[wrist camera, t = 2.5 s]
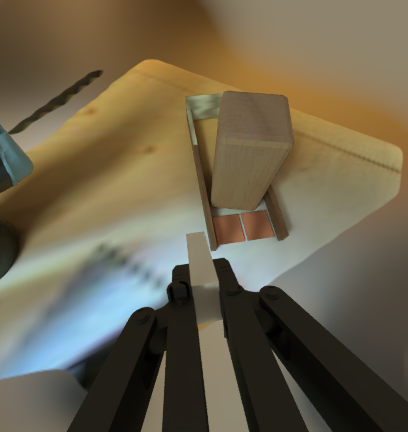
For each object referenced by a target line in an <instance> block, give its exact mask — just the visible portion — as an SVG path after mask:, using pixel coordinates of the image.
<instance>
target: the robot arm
mask: <svg viewBox="0 0 408 432" xmlns="http://www.w3.org/2000/svg"><path fill="white" fill-rule="evenodd" d="M32 170H33V163H32V161H31V160H30V159H29V157H28V156H27V155H26V154H25V153H24V152H23V150H22V149H21V148H20V147H19V146H18V144H17V143H16V142H15V141H14V140H13V139H12V137H11V136H10V135H9V134H8V133H7V132H6V131H5V129H4V128H3V127H2V126H1V125H0V193H1V192H3V191H5V190H7V189H9V188H10V187H12V186H15V185H16V184H17V182H19V181H20V180H22V179H23V178H25V177H26V176H28V175H29V174H31V172H32ZM186 236H187V247H188V258H189V264H184V265H177V266H175V267H174V269H173V270H172V283H170V284H169V286H168V287H167V295H168V299H169V302H168V303H167V304H166V305H165V306H164V307H162V308H160V309H158V310H154V309H152V308H150V307H143V308H140V309H138V310H136V311H135V312H134V313H133V314H132V315H131V316H130V318H129V320H128V322H127V323H126V325H125V327H124V329H123V331H122V332H121V334H120V336H119V338H118V340H117V341H116V343H115V345H114V347H113V349H112V351H111V352H110V354H109V356H108V358H107V360H106V361H105V363H104V365H103V367H102V369H101V370H100V372H99V374H98V376H97V378H96V380H95V381H94V383H93V385H92V387H91V389H90V390H89V392H88V394H87V396H86V398H85V400H84V401H83V403H82V405H81V407H80V409H79V410H78V412H77V414H76V416H75V418H74V419H73V421H72V423H71V425H70V427H69V429H68V431H67V432H141V429H142V425H143V422H144V419H145V415H146V412H147V409H148V405H149V401H150V399H151V395H152V392H153V389H154V385H155V382H156V379H157V375H158V372H159V368H160V365H161V362H162V358H163V355H164V351H166V367H165V386H164V405H163V423H162V432H209V424H208V415H207V406H206V397H205V388H204V379H203V370H202V361H201V352H200V343H199V334H198V327H197V324H201V323H206V322H212V321H217V320H222V318H223V325H224V337H225V338H226V339H227V343H228V347H229V351H230V355H231V359H232V363H233V367H234V371H235V376H236V380H237V384H238V388H239V391H240V396H241V400H242V404H243V408H244V412H245V416H246V420H247V424H248V428H249V432H309V431H308V429H307V427H306V425H305V423H304V420H303V418H302V416H301V414H300V411H299V409H298V407H297V405H296V403H295V401H294V398H293V396H292V394H291V392H290V389H289V387H288V385H287V383H286V381H285V378H284V376H283V374H282V372H281V370H280V368H279V365H278V363H277V361H276V359H275V357H274V354H273V352H272V350H273V351H274V353H275V354H276V355H277V357H278V358H279V359H280V361H281V362H282V364H283V365H284V366H285V368H286V369H287V370H288V372H289V373H290V374H291V376H292V377H293V379H294V380H295V381H296V383H297V384H298V385H299V387H300V388H301V389H302V391H303V392H304V393H305V395H306V396H307V398H308V399H309V400H310V402H311V403H312V404H313V405H314V407H315V408H316V410H317V411H318V413H319V414H320V415H321V417H322V418H323V419H324V421H325V422H326V424H327V425H328V426H329V427H330V429H331V430H332V432H408V402H407V401H406V400H405V399H404V398H403V397H401V396H400V395H399V394H398V393H397V392H396V391H394V389H392V388H391V387H390V386H389V385H388V384H387V383H386V382H385V381H384V380H382V379H381V378H380V377H379V376H378V375H377V374H376V373H375V372H373V371H372V370H371V369H370V368H369V367H368V366H367V365H366V364H365V363H363V362H362V361H361V360H360V359H359V358H358V357H357V356H356V355H354V354H353V353H352V352H351V351H350V350H349V349H348V348H346V347H345V346H344V345H343V344H342V343H341V342H340V341H339V340H337V338H335V337H334V336H333V335H332V334H331V333H330V332H329V331H328V330H326V329H325V328H324V327H323V326H322V325H321V324H320V323H319V322H317V321H316V320H315V319H314V318H313V317H312V316H311V315H309V313H307V312H306V311H305V310H304V309H303V308H302V307H301V306H300V305H298V304H297V303H296V302H295V301H294V300H293V299H292V298H291V297H289V296H288V295H287V294H286V293H285V292H284V291H283V290H281V289H280V288H278V287H276V286H264V287H263V288H261V289H260V291H259V292H251V291H247V290H244V288H243V287H242V286H241V285H239V284H238V281H237V279H236V277H235V274H234V272H233V270H232V268H231V265H230V263H229V261H228V260H226V259H225V258H219V259H213V260H212V257H211V254H210V251H209V247H208V244H207V241H206V237H205V234H204V232H197V233H190V234H186ZM18 244H19V241H18V235H17V232H16V230H15V229H14V228H13V227H12V226H11V225H10V224H9V223H7V222H5V221H2V220H0V278H1V277H2V276H3V275H4V274H5V273H6V271H7V270H8V269H9V267H10V266H11V264H12V263H13V261H14V259H15V256H16V254H17V250H18ZM270 347H271V348H270ZM271 349H272V350H271Z"/></svg>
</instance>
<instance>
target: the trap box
mask: <svg viewBox="0 0 408 432" xmlns="http://www.w3.org/2000/svg"><path fill="white" fill-rule="evenodd" d="M222 95H223V94H211V95H198V96H186V111H187V121H188V127H189V132H190V138H191V143H192V149H193V154H194V160H195V165H196V171H197V176H198V182H199V188H200V193H201V199H202V204H203V210H204V215H205V221H206V226H207V232H208V238H209V243H210V249H211V251H216V249H217V243H216V238H215V232H216V237H217V242H218V245H222V244H229V243H235V242H242V241H245V239H244V235H243V231H242V228H241V224H240V220H239V216H238V214H235V215H228V216H221V217H214V218H213V222H214V227H215V232H214V227H213V222H212V217H211V212H210V207H209V202H208V197H207V192H206V186H205V181H204V176H203V171H202V166H201V161H200V156H199V151H198V146H197V140H196V134H195V129H194V124H193V120H199V119H209V118H219V110H220V101H221V97H222ZM263 197H264V200H265V203H266V206H267V209H268V212H269V215H270V218H271V221H272V224H273V227H274V230H275V233H276V236H277V239H278V241H280V240H284V239H285V238H286V237H287V236H289V234H288V232H287V229H286V226H285V223H284V220H283V218H282V215H281V212H280V209H279V206H278V204H277V201H276V198H275V195H274V192H273V190H272V187H271V184H270V185H269V187H268V189H267V191H266V192H265V194H264V196H263ZM241 216H242V220H243V224H244V228H245V232H246V235H247V239H248V241H249V240H255V239H262V238H268V237H274V234H273V231H272V228H271V225H270V222H269V219H268V216H267V213H266V210H264V211H257V212H250V213H243V214H241Z"/></svg>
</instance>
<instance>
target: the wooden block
mask: <svg viewBox="0 0 408 432" xmlns="http://www.w3.org/2000/svg"><path fill="white" fill-rule="evenodd" d="M293 144H294V138H293V131H292V125H291V118H290V111H289V104H288V99H287V97H285V96H283V95H273V94H260V93H248V92H235V91H226V92H224V93H223V95H222V97H221V101H220V110H219V119H218V129H217V138H216V147H215V157H214V166H213V177H212V190H211V205H212V206H213V207H217V208H229V209H241V210H255V209H256V207H257V206H258V204H259V202H260V201H261V199H262V197H263V196H264V194H265V192H266V191H267V189H268V187H269V185H270V184H271V182H272V180H273V179H274V177H275V175H276V174H277V172H278V170H279V169H280V167H281V165H282V164H283V162H284V160H285V158H286V157H287V155H288V153H289V152H290V150H291V148H292V146H293Z"/></svg>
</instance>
